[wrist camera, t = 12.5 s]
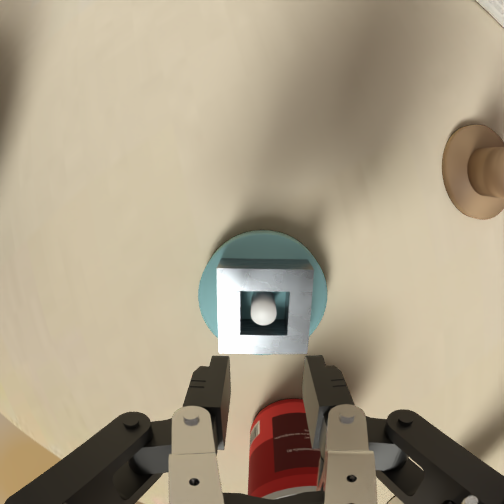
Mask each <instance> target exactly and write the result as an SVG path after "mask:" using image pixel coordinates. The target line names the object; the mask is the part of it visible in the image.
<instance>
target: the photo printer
mask: <svg viewBox="0 0 504 504" xmlns="http://www.w3.org/2000/svg"><path fill="white" fill-rule="evenodd" d="M476 1H477V2H478V3H479V4H480V5H481V6H482V7H483V8H484V9H485V10H486V11H487V12H488V13H489V14H490V15H491V16H492V17H493V18H494V19H495V20H496V21H497V22H498V23H499V24H500V25H501V26H503V27H504V0H476Z"/></svg>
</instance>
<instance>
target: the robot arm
mask: <svg viewBox="0 0 504 504" xmlns="http://www.w3.org/2000/svg"><path fill="white" fill-rule="evenodd" d="M230 394H231V382H230V360H229V356H212V358H211V362H210V366H209V367H206V366H200V367H199V368H198V369H197V370H195V371H194V372H193V375H192V378H191V381H190V385H189V388H188V391H187V394H186V397H185V401H184V404H183V407H182V408H180V409H178V410H177V411H175V412H174V414H173V416H172V418H171V419H168V420H163V421H155V422H150V419H149V418H148V417H147V416H146V415H145V414H143V413H139V412H127V413H124V414H122V415H120V416H118V417H117V418H116V419H114V420H113V421H112V422H111V423H109V424H108V425H107V426H105V427H104V428H103V429H102V430H100V431H99V432H98V433H96V434H95V435H94V436H92V437H91V438H90V439H89V440H87V441H86V442H85V443H83V444H82V445H81V446H79V447H78V448H77V449H75V450H74V451H73V452H71V453H70V454H69V455H67V456H66V457H65V458H63V459H62V460H61V461H59V462H58V463H57V464H55V465H54V466H52V467H51V468H50V469H49V470H47V471H46V472H44V473H43V474H41V475H40V476H39V477H37V478H36V479H35V480H33V481H32V482H31V483H29V484H28V485H26V486H25V487H23V488H22V489H20V490H19V491H18V492H16V493H15V494H13V495H12V496H10V497H9V498H8V499H7V500H6V502H5V504H135V503H136V502H137V501H138V500H139V499H140V498H141V497H142V496H143V495H144V493H145V492H146V491H147V490H148V489H149V488H150V487H151V486H152V485H153V484H154V483H155V482H156V481H157V480H158V479H159V478H160V477H161V475H162V474H163V473H166V472H169V504H378V503H377V485H376V477H377V478H378V479H379V480H380V481H381V482H382V483H383V484H384V485H385V486H386V487H387V488H388V489H389V490H390V491H391V492H392V493H393V494H394V495H395V497H394V498H393V499H392V500H390V501H389V502H388V504H504V476H503V475H501V474H500V473H498V472H497V471H496V470H494V469H493V468H491V467H490V466H488V465H487V464H486V463H484V462H483V461H481V460H480V459H479V458H477V457H476V456H474V455H473V454H472V453H470V452H469V451H467V450H466V449H465V448H463V447H462V446H460V445H459V444H458V443H456V442H455V441H454V440H452V439H451V438H449V437H448V436H447V435H445V434H444V433H443V432H441V431H440V430H438V429H437V428H436V427H434V426H433V425H432V424H430V423H429V422H428V421H426V420H425V419H424V418H422V417H421V416H420V415H418V414H417V413H415V412H413V411H410V410H396V411H394V412H392V413H391V414H389V416H388V418H387V419H376V418H370V417H367V416H366V415H365V413H364V411H363V410H362V409H361V408H359V407H357V406H355V405H354V402H353V400H352V397H351V395H350V392H349V390H348V387H347V386H346V382H345V380H344V377H343V375H342V372H341V371H340V370H339V369H337V368H336V367H335V366H326V364H325V361H324V359H323V356H322V355H318V356H305V360H304V372H303V382H302V396H303V402H304V407H305V412H306V418H307V423H308V429H309V434H310V439H311V445H312V449H319V448H320V452H321V455H320V460H319V468H318V478H317V487H316V491H311V492H303V493H299V494H295V495H291V496H287V497H283V498H279V499H265V498H260V497H255V496H250V495H245V494H241V493H222V487H221V482H220V475H219V469H218V463H217V450H224V446H225V438H226V429H227V421H228V413H229V404H230ZM408 457H410V458H411V459H412V460H414V461H415V462H416V463H417V464H418V465H419V466H421V467H422V469H423V470H424V471H423V470H422V469H421V468H419V467H418V466H417V465H416V464H415V463H414V462H412V461H411V460H410V459H409V458H408Z"/></svg>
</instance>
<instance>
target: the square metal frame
mask: <svg viewBox="0 0 504 504" xmlns="http://www.w3.org/2000/svg"><path fill="white" fill-rule="evenodd" d="M313 279H314V269H313V267H312V265H311V264H310V262H309V260H308V259H246V258H221V259H220V262H219V264H218V266H217V310H218V341H219V353H235V354H307V350H308V340H309V329H310V318H311V306H312V293H313ZM242 291H272V292H286V297H285V317H284V319H275V320H274V321H273V322H272V323H271V324H268V325H259V324H257V323H255V322H254V321H253V320H252V319H242Z"/></svg>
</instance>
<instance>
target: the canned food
mask: <svg viewBox="0 0 504 504" xmlns="http://www.w3.org/2000/svg"><path fill="white" fill-rule="evenodd" d="M320 455H321V452H320V448H319V449H312V445H311V439H310V434H309V429H308V423H307V418H306V412H305V407H304V402H303V399H285V400H280V401H277V402H274V403H272V404H270V405H268V406H266V407H265V408H264V409H263V410H261V411H260V412H259V414H258V415H257V416H256V418H255V420H254V422H253V424H252V426H251V431H250V454H249V480H248V495H250V496H255V497H260V498H265V499H279V498H283V497H287V496H291V495H295V494H299V493H303V492H311V491H316V487H317V478H318V468H319V460H320Z"/></svg>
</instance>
